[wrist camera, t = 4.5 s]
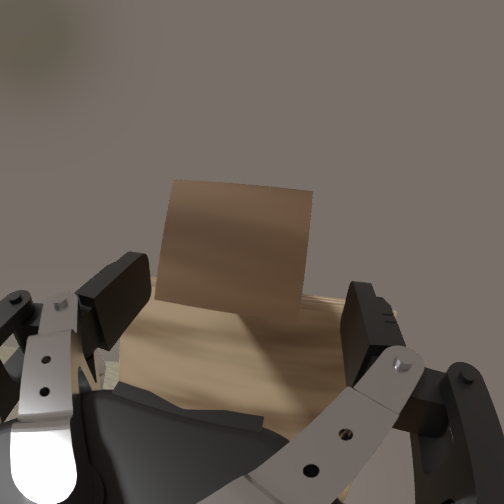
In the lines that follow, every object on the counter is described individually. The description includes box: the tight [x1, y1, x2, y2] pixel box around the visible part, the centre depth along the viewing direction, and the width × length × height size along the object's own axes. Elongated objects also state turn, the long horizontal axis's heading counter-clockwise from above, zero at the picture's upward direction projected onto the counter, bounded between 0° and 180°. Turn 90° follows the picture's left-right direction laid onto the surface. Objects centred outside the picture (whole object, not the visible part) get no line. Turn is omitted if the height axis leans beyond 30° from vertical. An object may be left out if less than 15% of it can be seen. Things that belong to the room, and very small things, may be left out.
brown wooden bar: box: [154, 180, 313, 322], centre depth 22 cm, size 28×4×4 cm, turn 174°
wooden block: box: [119, 277, 397, 503], centre depth 25 cm, size 18×18×32 cm
